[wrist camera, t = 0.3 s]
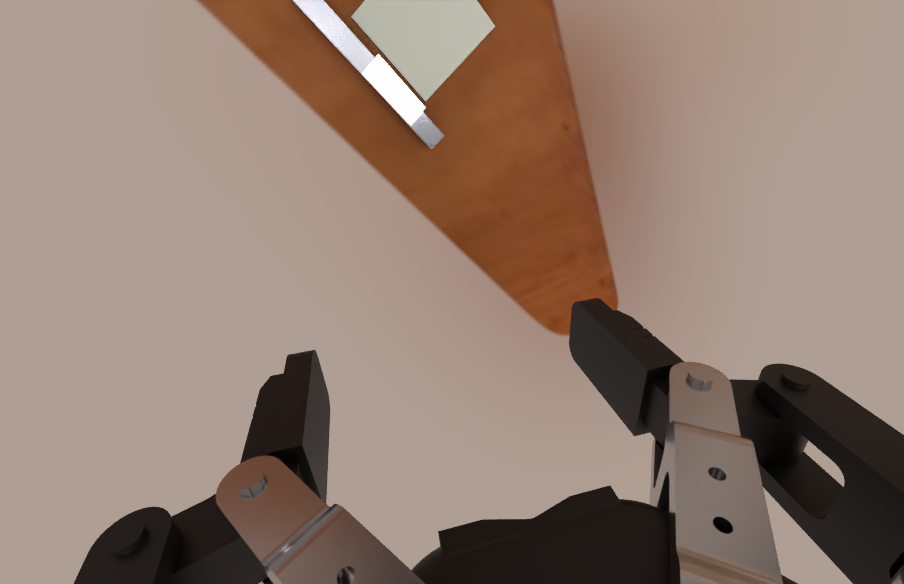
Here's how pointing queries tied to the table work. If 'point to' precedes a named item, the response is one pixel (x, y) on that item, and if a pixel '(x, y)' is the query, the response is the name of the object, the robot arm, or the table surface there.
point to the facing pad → (424, 36)
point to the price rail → (372, 70)
